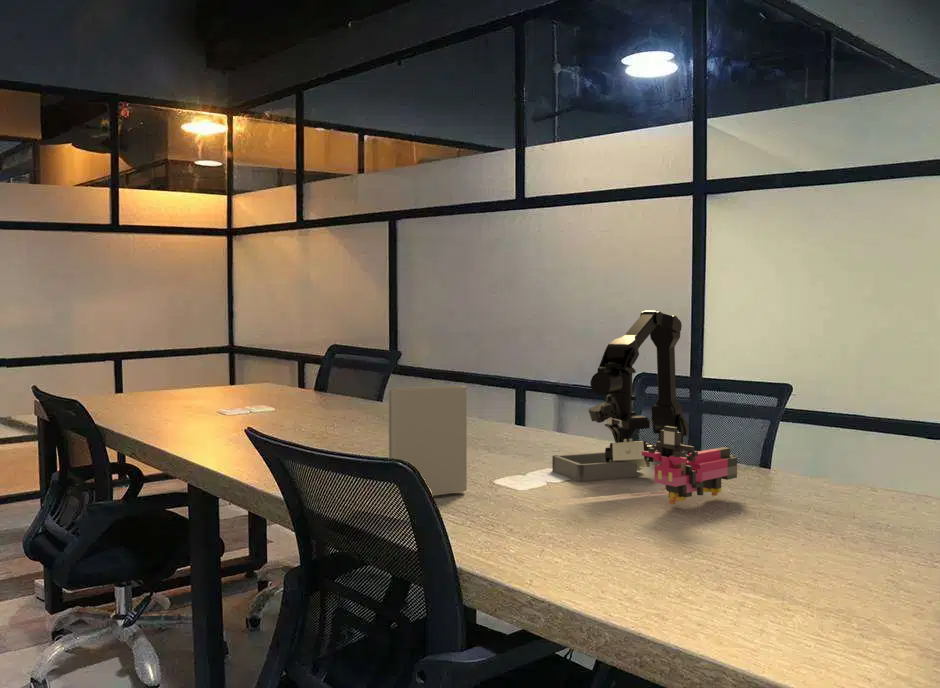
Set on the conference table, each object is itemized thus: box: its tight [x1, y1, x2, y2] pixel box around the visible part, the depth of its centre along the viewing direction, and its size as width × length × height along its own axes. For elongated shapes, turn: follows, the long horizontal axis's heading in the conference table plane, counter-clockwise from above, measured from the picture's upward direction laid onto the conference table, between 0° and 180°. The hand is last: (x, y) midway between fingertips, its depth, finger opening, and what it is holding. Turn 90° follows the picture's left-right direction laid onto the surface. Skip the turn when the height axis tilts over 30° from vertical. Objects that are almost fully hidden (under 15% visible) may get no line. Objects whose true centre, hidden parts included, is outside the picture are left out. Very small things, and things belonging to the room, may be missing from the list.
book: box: [388, 385, 468, 496], centre depth 191 cm, size 18×4×24 cm, turn 116°
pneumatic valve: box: [604, 438, 656, 472], centre depth 212 cm, size 6×12×12 cm
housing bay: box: [551, 451, 638, 483], centre depth 213 cm, size 16×14×4 cm
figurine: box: [642, 426, 738, 505], centre depth 186 cm, size 11×25×17 cm, turn 129°
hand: (620, 452), depth 216 cm, fingers closed
